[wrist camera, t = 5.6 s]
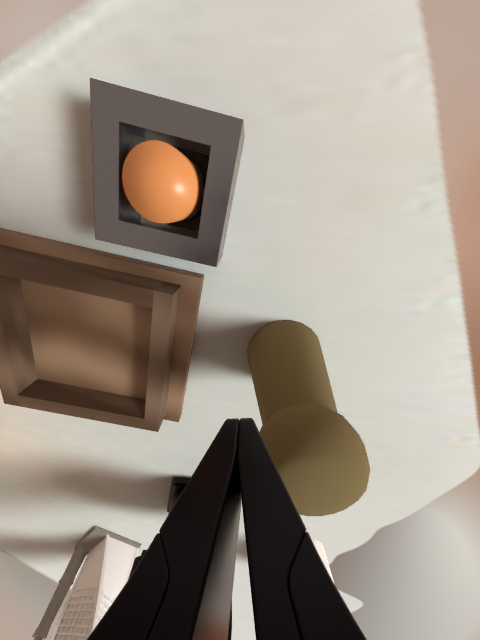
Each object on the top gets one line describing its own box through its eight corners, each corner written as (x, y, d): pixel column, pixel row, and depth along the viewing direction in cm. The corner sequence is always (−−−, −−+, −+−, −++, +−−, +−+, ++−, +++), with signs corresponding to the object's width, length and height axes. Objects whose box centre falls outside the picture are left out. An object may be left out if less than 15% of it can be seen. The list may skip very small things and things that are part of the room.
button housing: (221, 257, 17) (216, 267, 14) (120, 233, 16) (95, 239, 14) (244, 137, 14) (243, 119, 11) (122, 104, 13) (89, 77, 11)
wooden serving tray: (181, 413, 23) (172, 441, 20) (21, 383, 22) (-11, 407, 20) (204, 274, 17) (195, 287, 15) (-12, 225, 16) (-65, 228, 14)
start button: (199, 226, 15) (189, 230, 13) (144, 213, 15) (121, 214, 13) (209, 162, 14) (199, 151, 11) (147, 146, 14) (122, 131, 11)
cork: (232, 354, 20) (216, 498, 10) (283, 305, 18) (326, 423, 8) (283, 392, 22) (312, 549, 12) (336, 350, 20) (426, 497, 10)
